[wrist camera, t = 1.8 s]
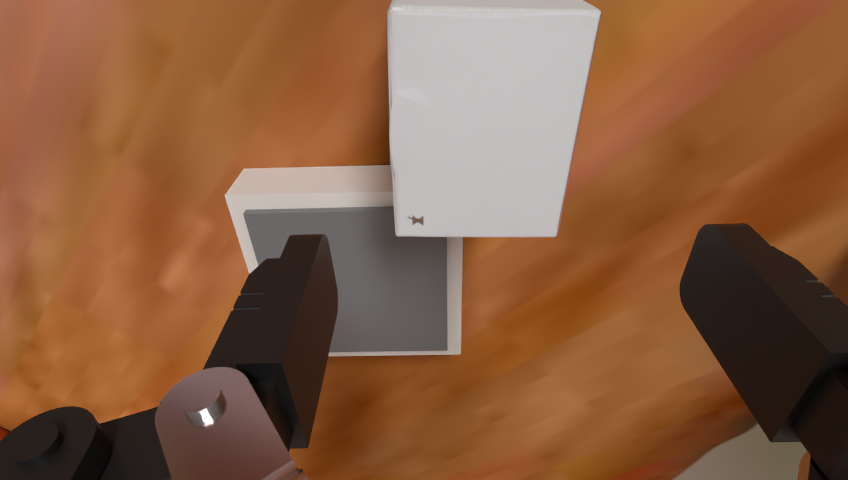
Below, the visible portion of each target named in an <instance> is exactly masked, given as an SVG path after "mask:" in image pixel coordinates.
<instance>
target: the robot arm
mask: <svg viewBox="0 0 848 480" xmlns="http://www.w3.org/2000/svg"><path fill="white" fill-rule="evenodd" d="M817 280H818V279H817V278H816V277H815V276H814V275H813V274H812V273H811V272H810V271H809V270H808V269H807V268H806V267H805V266H803V265H802V264H801V263H800V262H799V261H798V260H796V259H794V258H792V257H791V256H789V255H787V254H785V253H784V252H782V251H780V250H778V249H777V248H775V247H773V246H770V245H769V244H768V243H767V242H766V241H765V240H764V239H763V238H762V237H761V236H760V235H759V234H758V233H757V232H756V231H755V230H754V229H753V228H752V227H750V226H749V225H747V224H744V223H739V224H707V225H704V226H703V227H702V228H701V229H700V230H699V232H698V234H697V237H696V239H695V242H694V245H693V248H692V251H691V253H690V256H689V259H688V262H687V265H686V267H685V270H684V273H683V276H682V279H681V282H680V298H681V302H682V305H683V307H684V309H685V311H686V312H687V314H688V315H689V317H690V318H691V320H692V322H693V323H694V325H695V326H696V328H697V329H698V331H699V332H700V334H701V335H702V337H703V339H704V340H705V342H706V343H707V345H708V346H709V348H710V349H711V351H712V352H713V354H714V356H715V357H716V359H717V360H718V362H719V363H720V365H721V366H722V368H723V369H724V371H725V372H726V374H727V376H728V377H729V379H730V380H731V382H732V383H733V385H734V386H735V388H736V389H737V391H738V393H739V394H740V396H741V397H742V399H743V400H744V402H745V403H746V405H747V406H748V408H749V410H750V411H751V413H752V414H753V416H754V417H755V419H756V420H757V422H758V423H759V425H760V427H761V428H762V429H763V431H764V433H765V434H766V436H767V437H768V439H769V440H770V442H802V444H803V445H804V447H805V448H806V450H807V452H806V453H805V455H804V456H803V457H802V459H801V461H800V464H799V472H798V479H797V480H848V307H847V306H846V305H845V304H844V303H843V302H842V301H841V300H840V299H839V298H834V297H833V293H832V292H831V291H830V290H829V289H828V288H827V287H826V286H825V285H824V284H823V283H818V281H817ZM233 308H234V310H233V311H231V313H230V315H229V317H228V319H227V321H226V323H225V325H224V327H223V329H222V331H221V333H220V335H219V338H218V340H217V342H216V344H215V346H214V348H213V350H212V352H211V354H210V356H209V358H208V360H207V362H206V364H205V366H204V368H203V370H201V371H198V372H196V373H193V374H191V375H189V376H188V377H186V378H184V379H183V380H181V381H180V382H178V383H177V384H176V385H175V386H173V387H172V388H171V389H170V390H169V391H168V392H167V394H166V395H165V396H164V397H163V399H162V400H161V402H160V404H159V406H158V407H155V408H152V409H149V410H146V411H142V412H139V413H136V414H132V415H129V416H125V417H122V418H118V419H115V420H111V421H108V422H104V423H101V424H99V423H98V422H97V420H96V419H95V418H94V416H93V415H92V414H91V413H90V412H89V411H88V410H86V409H84V408H80V407H61V408H56V409H53V410H49V411H47V412H44V413H41V414H39V415H37V416H35V417H33V418H31V419H29V420H27V421H26V422H24V423H22V424H21V425H19V426H18V427H16V428H15V429H13V430H12V431H11V432H10V433H9V434H7V435H6V436H5V437H4V438H3V439H2V440H1V441H0V480H309V479H308V477H307V476H306V474H305V473H304V471H303V470H302V469H300V470H299V469H298V468H297V466H296V465H295V463H294V461H293V459H292V458H291V456H290V454H289V449H290V448H308V446H309V441H310V437H311V432H312V428H313V423H314V418H315V414H316V409H317V405H318V400H319V396H320V391H321V386H322V382H323V377H324V373H325V368H326V364H327V359H328V355H329V350H330V345H331V341H332V336H333V332H334V327H335V323H336V318H337V312H338V290H337V284H336V278H335V273H334V268H333V262H332V257H331V251H330V246H329V241H328V238H327V236H326V234H305V235H290V236H289V238H288V240H287V242H286V245H285V247H284V249H283V252H282V254H281V256H280V258H267V259H265V260H264V261H263V262H262V263H261V264H260V265H259V266H258V267H257V268H255V269H254V270H253V271H252V272H251V273H250V274H249V276H248V278H247V280H246V282H245V284H244V286H243V288H242V290H241V296H238V298H237V300H236V302H235V305H234V307H233Z"/></svg>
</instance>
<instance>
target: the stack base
mask: <svg viewBox="0 0 848 480" xmlns="http://www.w3.org/2000/svg"><path fill="white" fill-rule="evenodd" d="M225 198H226V201H227V205H228V208H229V211H230V214H231V217H232V220H233V224H234V227H235V230H236V233H237V236H238V240H239V243H240V246H241V249H242V252H243V255H244V259H245V262H246V265H247V268H248V271H249V274H250V273H251V272H252V271H253V270H254V269H255V268H257V267H258V266H259V265H260V264H261V263H262V262H263V261H264V260H265V259H267V258H280V256H281V254H282V252H283V249H284V247H285V245H286V242H287V240H288V238H289V236H290V235H305V234H326V236H327V238H328V241H329V246H330V251H331V257H332V262H333V268H334V273H335V278H336V284H337V290H338V312H337V318H336V323H335V327H334V332H333V336H332V341H331V345H330V350H329V355H328V356H385V355H455V354H461V311H462V254H463V237H417V236H407V237H397V236H396V234H395V222H394V204H393V184H392V172H391V165H370V166H330V167H291V168H251V169H243V171H242V172H241V173H240V175H239V176H238V178H237V179H236V180H235V182H234V183H233V185H232V186H231V187H230V189H229V190H228V192H227V193H226V194H225Z"/></svg>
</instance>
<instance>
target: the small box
mask: <svg viewBox="0 0 848 480" xmlns="http://www.w3.org/2000/svg"><path fill="white" fill-rule="evenodd" d="M601 14H602V13H601V11H600V10H599V9H597V8H595V7H594V6H592V5H591V4H589V3H587V2H585V1H583V0H392V1H391V4H390V6H389V9H388V13H387V44H388V88H389V144H390V165H391V172H392V184H393V204H394V222H395V234H396V236H397V237H407V236H417V237H556V236H557V235H558V232H559V227H560V222H561V217H562V212H563V207H564V201H565V196H566V191H567V186H568V181H569V176H570V171H571V166H572V161H573V156H574V151H575V146H576V141H577V136H578V131H579V125H580V121H581V116H582V111H583V106H584V101H585V95H586V90H587V85H588V80H589V75H590V70H591V64H592V59H593V54H594V49H595V44H596V39H597V34H598V29H599V23H600V18H601Z"/></svg>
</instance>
